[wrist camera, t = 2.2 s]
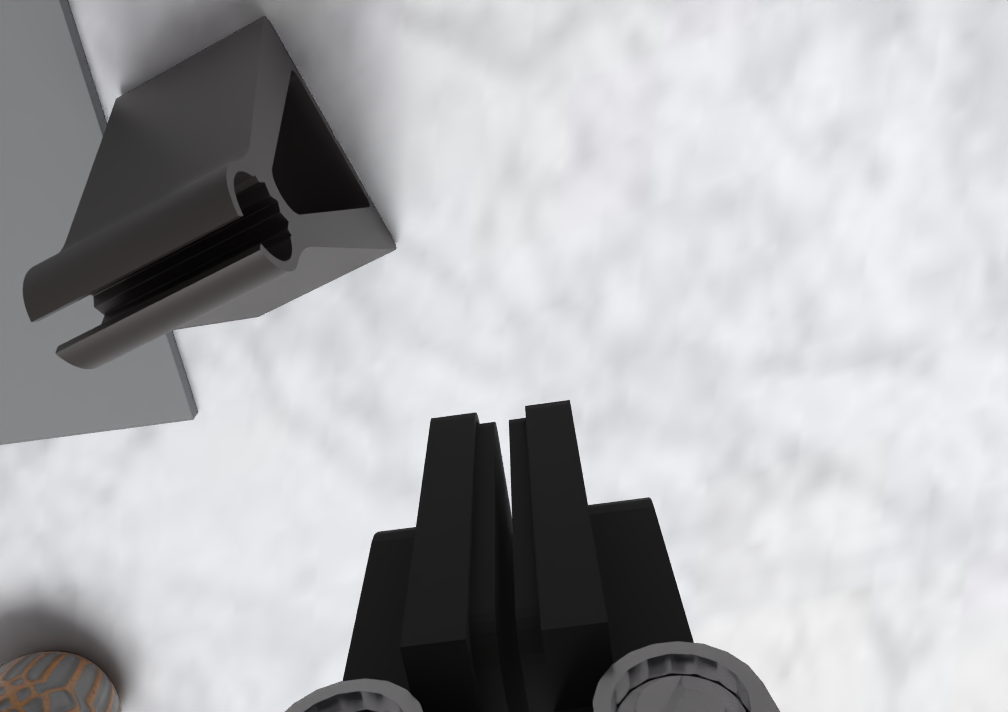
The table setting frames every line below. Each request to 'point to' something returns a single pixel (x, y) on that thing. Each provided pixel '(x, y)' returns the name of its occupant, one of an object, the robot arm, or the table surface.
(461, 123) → the table surface
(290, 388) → the table surface
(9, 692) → the vase
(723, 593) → the table surface
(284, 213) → the phone stand
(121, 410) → the mat
